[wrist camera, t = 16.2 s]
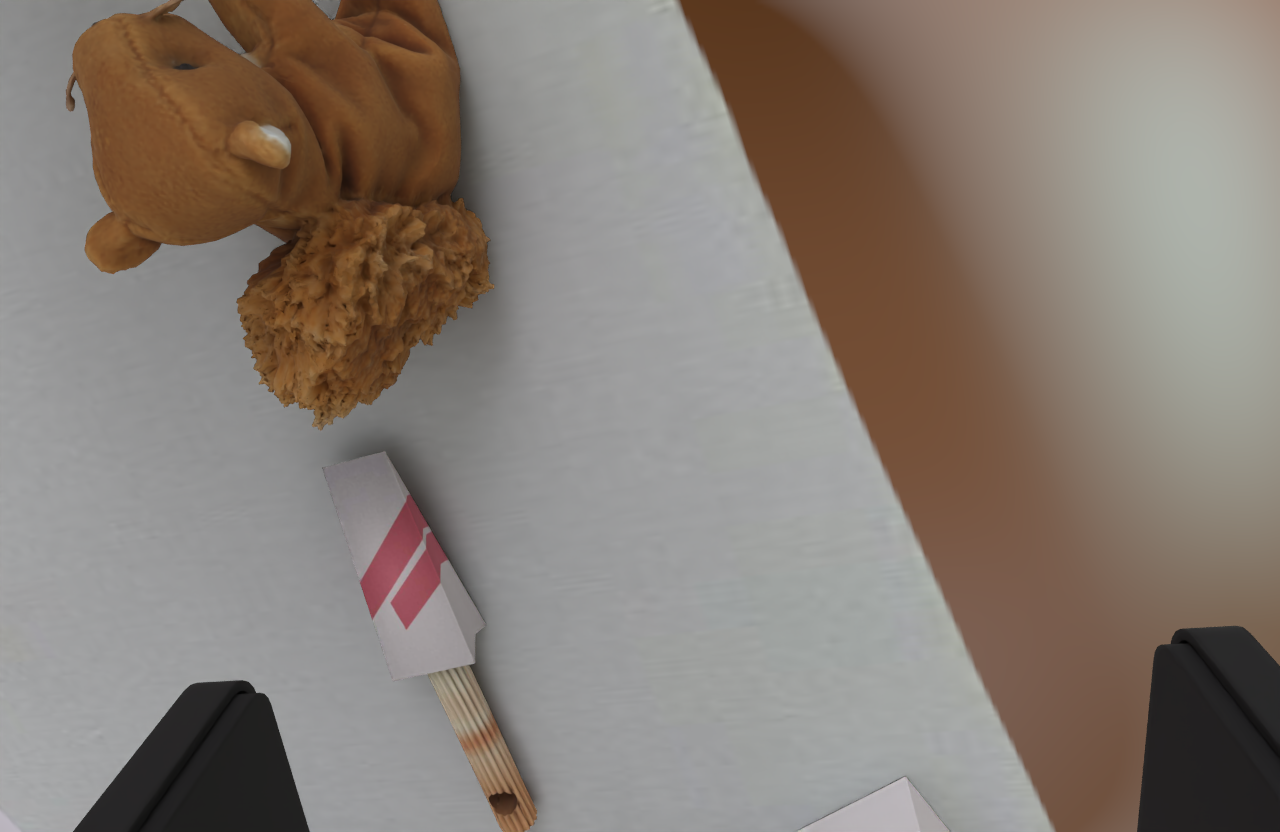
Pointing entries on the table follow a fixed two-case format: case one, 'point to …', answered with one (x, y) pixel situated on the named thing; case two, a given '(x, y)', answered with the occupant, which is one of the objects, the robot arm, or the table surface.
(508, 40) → the table surface
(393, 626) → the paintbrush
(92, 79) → the stuffed squirrel
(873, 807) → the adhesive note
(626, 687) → the table surface
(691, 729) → the table surface
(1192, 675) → the robot arm
